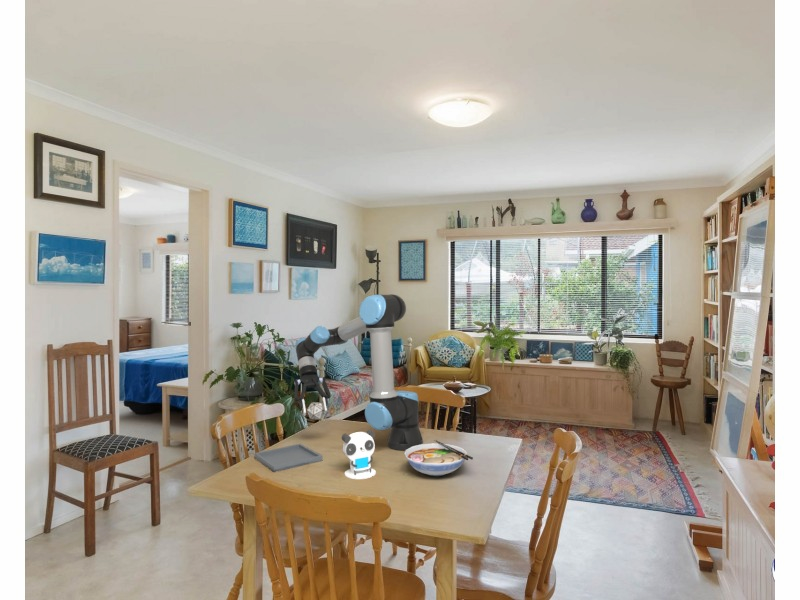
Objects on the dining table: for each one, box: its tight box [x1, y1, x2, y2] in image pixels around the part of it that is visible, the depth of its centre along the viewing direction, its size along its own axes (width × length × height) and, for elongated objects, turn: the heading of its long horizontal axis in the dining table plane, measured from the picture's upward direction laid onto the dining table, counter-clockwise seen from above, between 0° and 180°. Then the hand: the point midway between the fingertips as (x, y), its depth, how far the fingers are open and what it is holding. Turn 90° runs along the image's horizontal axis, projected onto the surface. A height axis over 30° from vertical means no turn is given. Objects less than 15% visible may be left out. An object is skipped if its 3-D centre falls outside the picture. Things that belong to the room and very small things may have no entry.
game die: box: [306, 400, 325, 422], centre depth 214 cm, size 9×8×10 cm
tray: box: [253, 443, 323, 473], centre depth 200 cm, size 20×20×2 cm
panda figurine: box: [341, 429, 377, 480], centre depth 183 cm, size 12×11×15 cm
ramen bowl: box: [403, 439, 474, 477], centre depth 183 cm, size 25×23×8 cm
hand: (315, 413), depth 211 cm, fingers closed on game die, 8 cm apart
